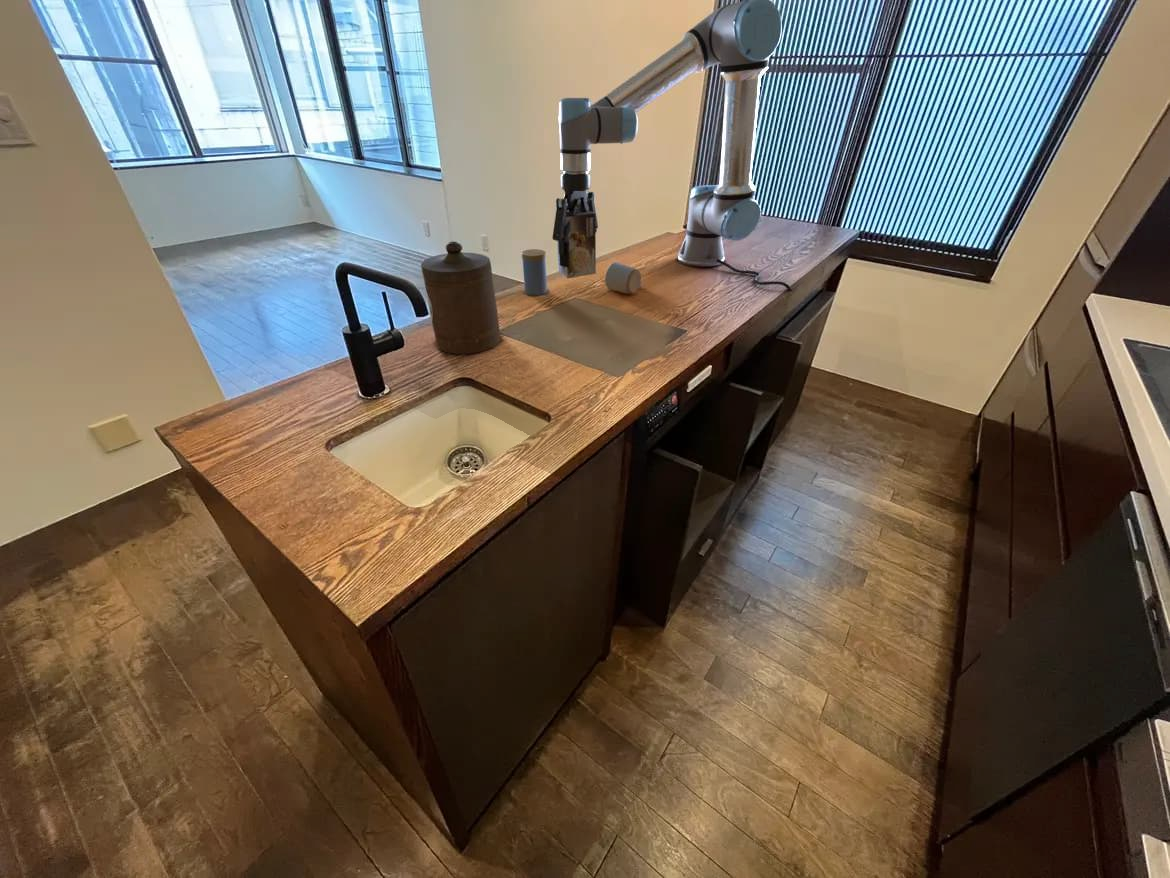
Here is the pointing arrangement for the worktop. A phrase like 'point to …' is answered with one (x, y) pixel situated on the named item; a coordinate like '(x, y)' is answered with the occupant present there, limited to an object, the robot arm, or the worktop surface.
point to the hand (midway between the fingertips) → (576, 261)
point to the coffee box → (580, 245)
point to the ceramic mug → (623, 278)
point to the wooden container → (461, 300)
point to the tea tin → (534, 271)
